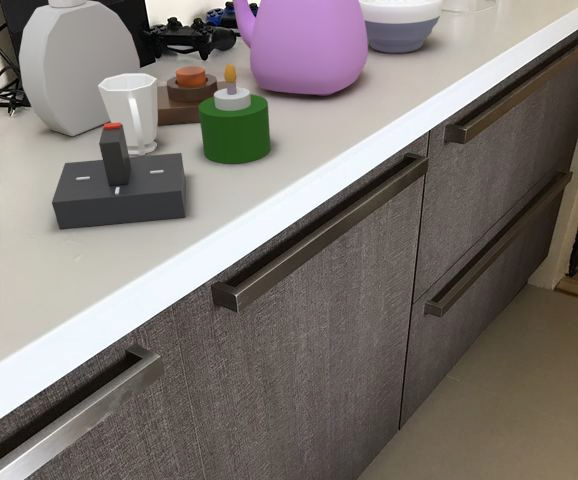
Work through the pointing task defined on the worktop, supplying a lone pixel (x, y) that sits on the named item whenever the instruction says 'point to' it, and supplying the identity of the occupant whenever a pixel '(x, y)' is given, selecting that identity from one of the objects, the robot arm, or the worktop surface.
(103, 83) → the cup
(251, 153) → the candle
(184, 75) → the power button
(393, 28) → the bowl
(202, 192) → the worktop surface
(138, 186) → the dial panel
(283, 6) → the teapot
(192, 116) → the switch block
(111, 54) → the soap bottle
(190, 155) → the worktop surface
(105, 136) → the block
